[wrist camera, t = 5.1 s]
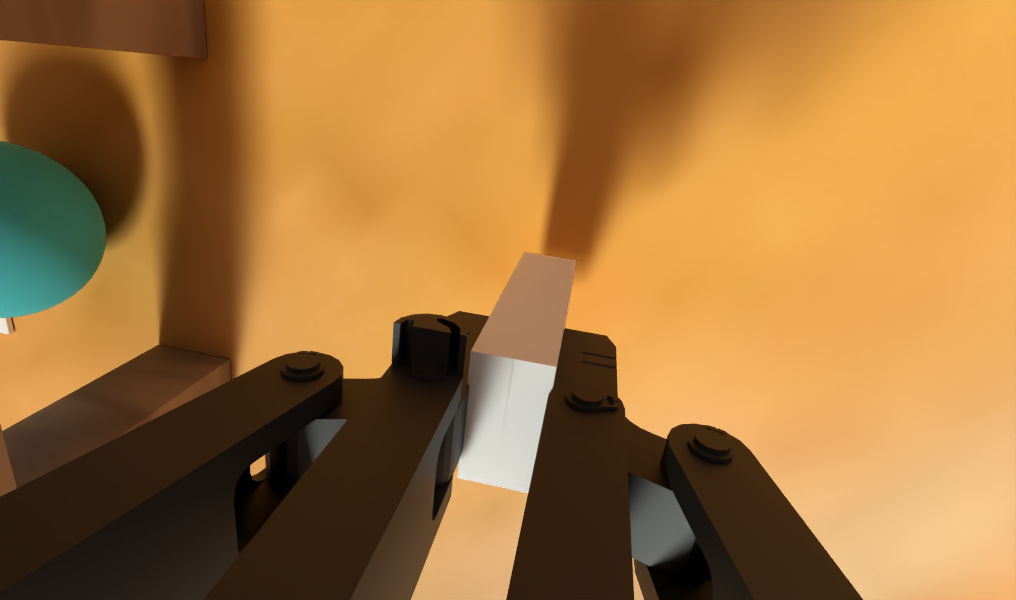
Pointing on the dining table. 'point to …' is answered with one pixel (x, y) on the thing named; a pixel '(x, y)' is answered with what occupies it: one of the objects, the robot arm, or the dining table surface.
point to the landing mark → (6, 326)
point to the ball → (44, 232)
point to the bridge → (161, 370)
